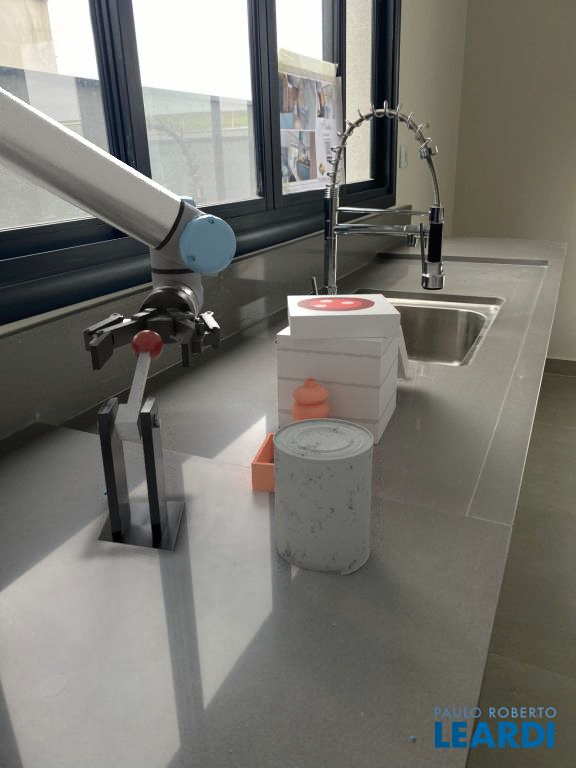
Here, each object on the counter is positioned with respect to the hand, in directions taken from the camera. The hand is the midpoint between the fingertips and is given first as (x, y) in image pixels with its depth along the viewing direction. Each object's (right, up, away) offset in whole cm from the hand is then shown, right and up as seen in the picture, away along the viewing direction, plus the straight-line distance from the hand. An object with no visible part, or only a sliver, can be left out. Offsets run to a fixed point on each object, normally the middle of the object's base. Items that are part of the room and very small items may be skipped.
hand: (140, 356), depth 65 cm
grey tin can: (+19, -20, -4) cm, 28 cm away
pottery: (+18, -14, +14) cm, 27 cm away
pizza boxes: (+26, -7, +33) cm, 43 cm away
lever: (0, -4, 0) cm, 4 cm away
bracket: (+1, -19, -2) cm, 19 cm away
